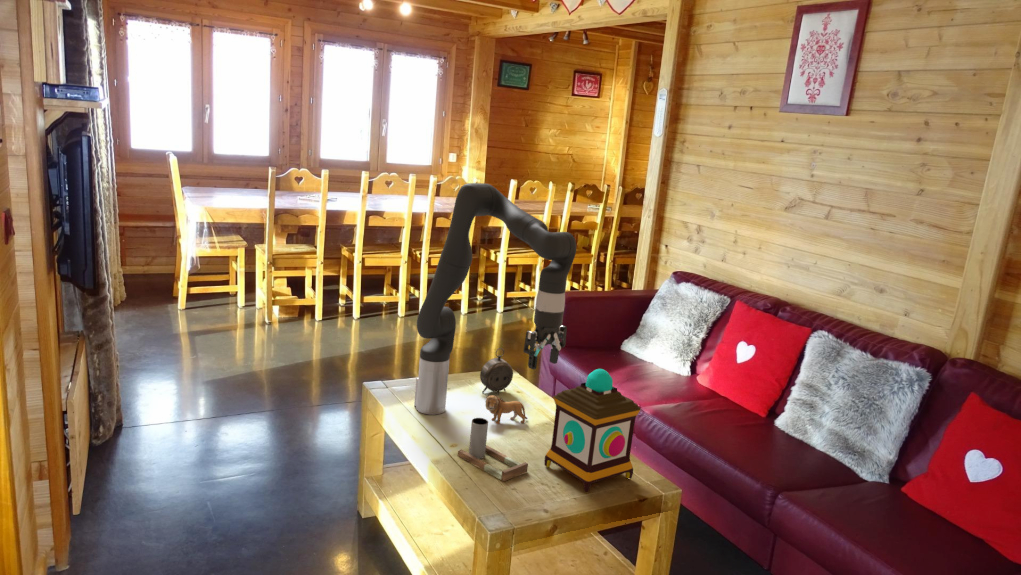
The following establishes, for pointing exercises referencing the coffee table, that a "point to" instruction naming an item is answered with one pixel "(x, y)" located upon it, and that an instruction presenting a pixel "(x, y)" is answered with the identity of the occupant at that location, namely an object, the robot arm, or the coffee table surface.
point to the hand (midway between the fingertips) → (542, 365)
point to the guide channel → (504, 475)
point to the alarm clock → (496, 374)
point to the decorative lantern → (593, 430)
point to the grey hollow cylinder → (478, 437)
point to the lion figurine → (504, 408)
